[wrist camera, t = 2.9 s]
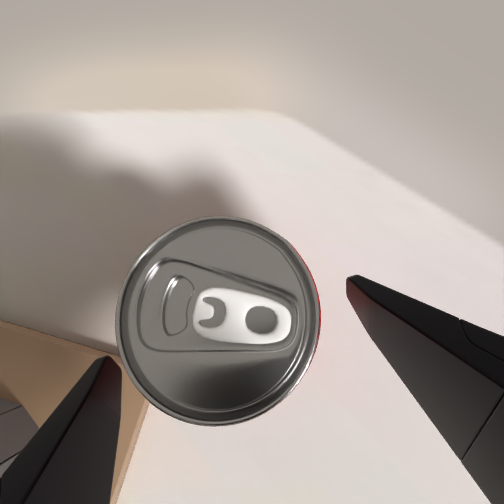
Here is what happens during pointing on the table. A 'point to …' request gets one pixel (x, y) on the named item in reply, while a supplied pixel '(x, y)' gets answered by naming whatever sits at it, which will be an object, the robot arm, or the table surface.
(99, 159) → the table surface
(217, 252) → the beverage can
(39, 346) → the square cardboard coaster
